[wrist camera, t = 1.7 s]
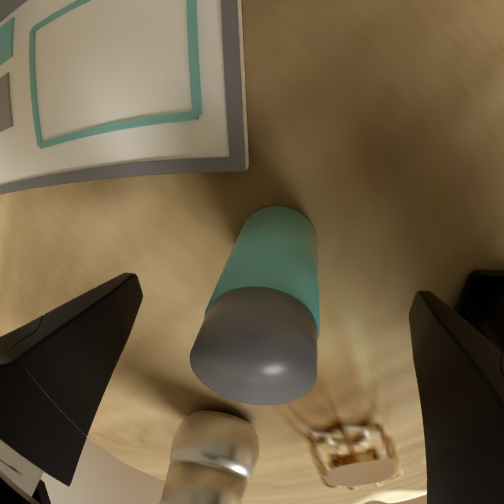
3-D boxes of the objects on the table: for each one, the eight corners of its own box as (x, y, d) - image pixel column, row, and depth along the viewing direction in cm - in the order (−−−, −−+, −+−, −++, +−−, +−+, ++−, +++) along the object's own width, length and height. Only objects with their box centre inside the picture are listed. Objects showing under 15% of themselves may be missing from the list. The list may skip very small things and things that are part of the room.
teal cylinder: (318, 207, 10) (327, 333, 5) (313, 275, 12) (310, 409, 7) (237, 204, 11) (175, 320, 6) (242, 271, 12) (199, 397, 7)
